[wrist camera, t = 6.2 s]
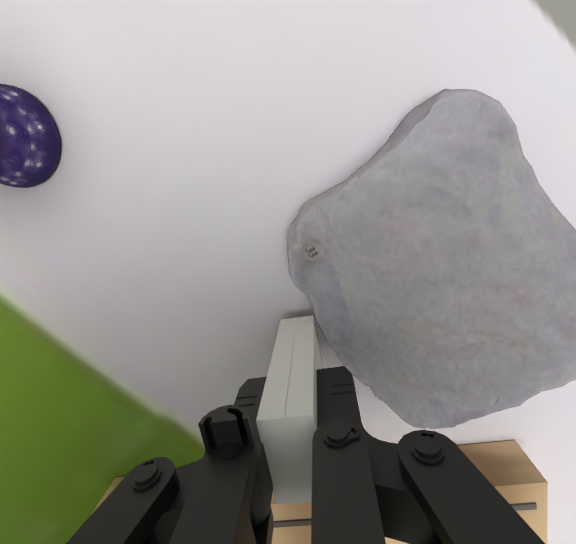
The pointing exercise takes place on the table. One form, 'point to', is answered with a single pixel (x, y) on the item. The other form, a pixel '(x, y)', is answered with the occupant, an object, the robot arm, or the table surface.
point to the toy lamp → (26, 139)
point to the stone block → (443, 267)
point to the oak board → (485, 456)
